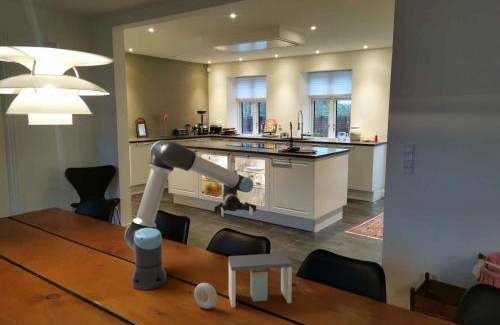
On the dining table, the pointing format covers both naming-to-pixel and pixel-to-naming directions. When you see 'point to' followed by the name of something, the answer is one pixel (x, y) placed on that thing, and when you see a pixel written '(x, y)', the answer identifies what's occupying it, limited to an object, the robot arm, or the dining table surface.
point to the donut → (210, 292)
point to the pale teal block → (259, 284)
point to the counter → (283, 284)
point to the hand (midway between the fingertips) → (237, 213)
